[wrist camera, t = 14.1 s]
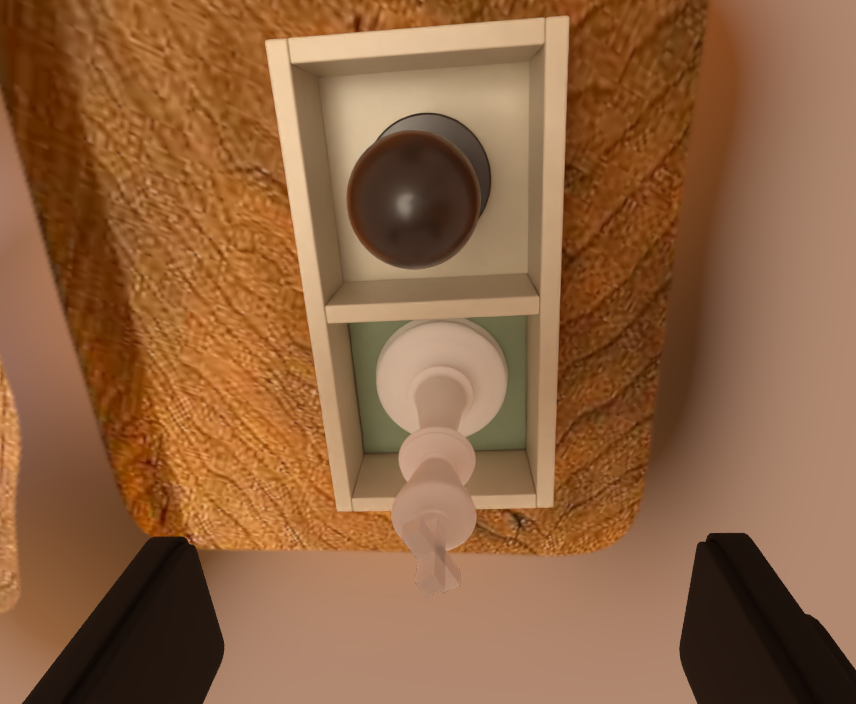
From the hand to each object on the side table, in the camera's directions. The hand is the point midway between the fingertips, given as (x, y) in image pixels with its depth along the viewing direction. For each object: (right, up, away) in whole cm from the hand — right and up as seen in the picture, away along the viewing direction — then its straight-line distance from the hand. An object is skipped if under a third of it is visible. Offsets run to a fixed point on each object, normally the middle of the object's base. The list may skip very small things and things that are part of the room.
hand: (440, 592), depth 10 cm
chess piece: (0, +4, +10) cm, 11 cm away
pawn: (0, +10, +7) cm, 13 cm away
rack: (0, +7, +9) cm, 12 cm away
